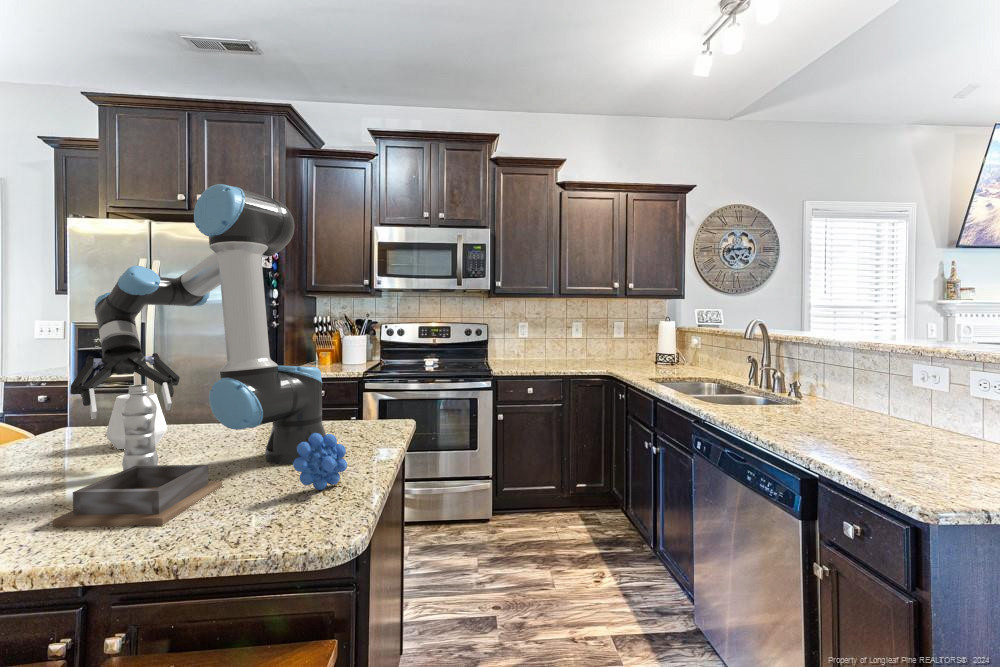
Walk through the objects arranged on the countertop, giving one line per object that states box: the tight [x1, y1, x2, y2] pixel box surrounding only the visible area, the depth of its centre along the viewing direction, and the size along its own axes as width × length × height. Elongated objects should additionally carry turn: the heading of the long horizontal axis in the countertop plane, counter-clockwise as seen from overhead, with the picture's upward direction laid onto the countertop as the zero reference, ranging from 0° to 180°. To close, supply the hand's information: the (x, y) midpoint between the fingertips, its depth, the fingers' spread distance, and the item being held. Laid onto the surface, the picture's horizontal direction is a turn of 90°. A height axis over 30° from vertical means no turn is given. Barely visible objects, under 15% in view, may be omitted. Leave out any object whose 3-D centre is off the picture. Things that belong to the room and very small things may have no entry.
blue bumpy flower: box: [292, 433, 348, 491], centre depth 94 cm, size 12×7×12 cm, turn 141°
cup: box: [105, 392, 168, 450], centre depth 128 cm, size 13×13×14 cm
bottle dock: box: [52, 464, 223, 528], centre depth 87 cm, size 18×18×5 cm
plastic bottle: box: [121, 383, 159, 471], centre depth 104 cm, size 6×7×20 cm
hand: (133, 411), depth 106 cm, fingers open, 13 cm apart
